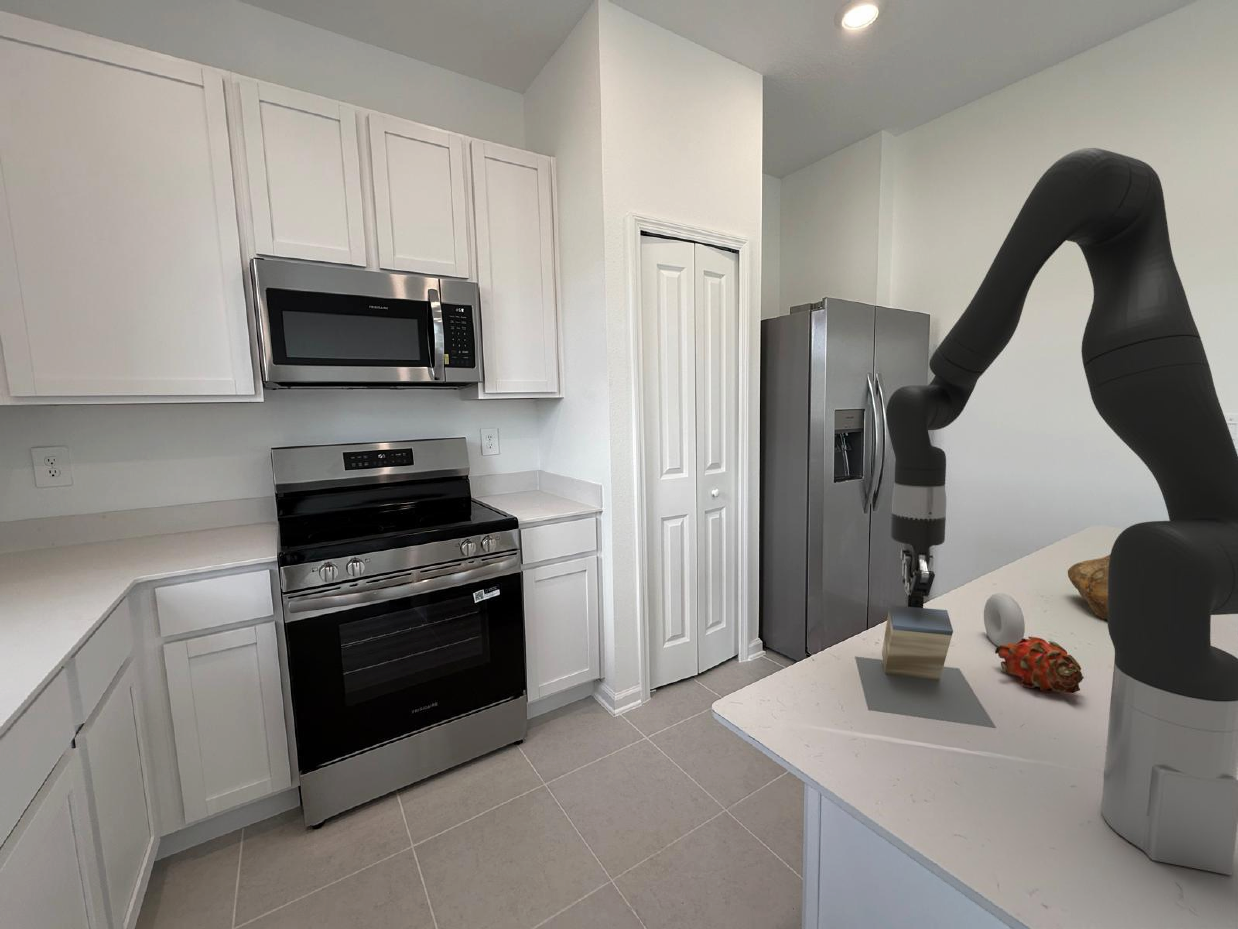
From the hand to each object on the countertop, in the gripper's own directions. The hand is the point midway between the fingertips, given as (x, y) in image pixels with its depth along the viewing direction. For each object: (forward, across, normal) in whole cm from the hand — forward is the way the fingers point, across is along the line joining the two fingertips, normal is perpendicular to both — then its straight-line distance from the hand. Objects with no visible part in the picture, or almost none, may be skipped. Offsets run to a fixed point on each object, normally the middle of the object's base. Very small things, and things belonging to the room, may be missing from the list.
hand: (914, 616), depth 86 cm
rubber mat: (+10, -4, 0) cm, 11 cm away
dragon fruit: (+11, +2, -18) cm, 21 cm away
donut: (+10, +16, -18) cm, 26 cm away
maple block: (+9, +1, 0) cm, 9 cm away
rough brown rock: (+10, +42, -47) cm, 64 cm away
